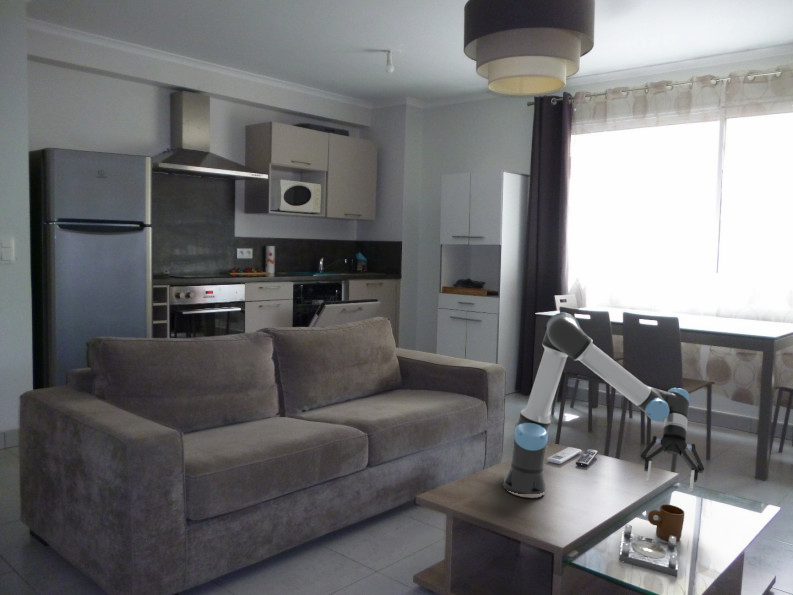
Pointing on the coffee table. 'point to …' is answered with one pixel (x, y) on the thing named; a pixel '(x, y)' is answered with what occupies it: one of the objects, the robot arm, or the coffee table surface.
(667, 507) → the mug
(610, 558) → the coffee table surface
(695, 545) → the coffee table surface
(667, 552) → the chassis
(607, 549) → the coffee table surface
